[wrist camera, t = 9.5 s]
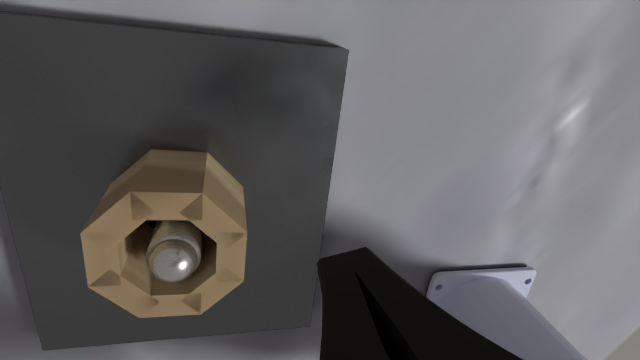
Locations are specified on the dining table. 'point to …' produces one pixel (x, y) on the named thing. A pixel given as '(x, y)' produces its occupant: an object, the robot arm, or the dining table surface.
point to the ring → (135, 235)
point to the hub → (163, 134)
